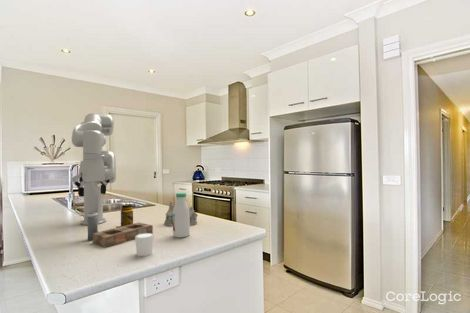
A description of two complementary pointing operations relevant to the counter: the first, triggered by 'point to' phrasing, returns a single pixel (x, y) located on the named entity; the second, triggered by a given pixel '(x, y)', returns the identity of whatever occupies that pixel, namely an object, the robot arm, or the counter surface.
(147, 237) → the shot glass
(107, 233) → the socket block
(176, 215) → the milk bottle
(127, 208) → the condiment
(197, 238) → the counter surface
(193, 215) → the gray stone sculpture
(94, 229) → the grey rounded cylinder
